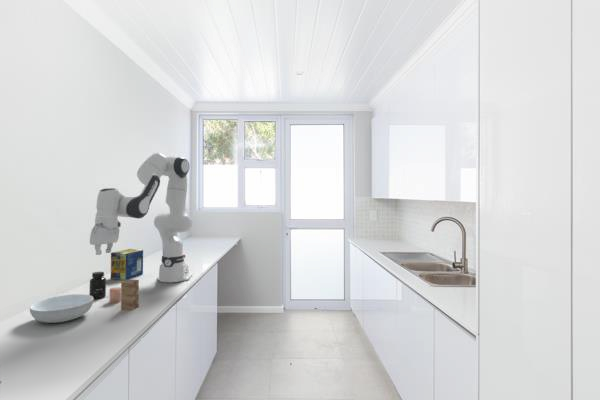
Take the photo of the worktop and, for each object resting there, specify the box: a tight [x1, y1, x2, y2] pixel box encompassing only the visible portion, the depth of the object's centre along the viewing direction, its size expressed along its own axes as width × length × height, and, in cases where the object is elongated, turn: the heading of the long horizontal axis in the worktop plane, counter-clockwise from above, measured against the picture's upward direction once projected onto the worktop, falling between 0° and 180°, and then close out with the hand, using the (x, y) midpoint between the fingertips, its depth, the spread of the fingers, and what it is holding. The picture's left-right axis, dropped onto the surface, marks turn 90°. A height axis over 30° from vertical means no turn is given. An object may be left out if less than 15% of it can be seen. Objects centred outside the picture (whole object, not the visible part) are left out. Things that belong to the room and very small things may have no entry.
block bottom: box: [120, 297, 140, 311], centre depth 150 cm, size 5×5×4 cm
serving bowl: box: [29, 293, 95, 324], centre depth 136 cm, size 21×21×7 cm
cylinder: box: [109, 286, 121, 304], centre depth 159 cm, size 5×5×6 cm
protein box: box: [110, 248, 144, 281], centre depth 206 cm, size 10×15×16 cm
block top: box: [120, 279, 140, 292], centre depth 150 cm, size 5×5×4 cm
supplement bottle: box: [88, 271, 107, 300], centre depth 165 cm, size 7×7×12 cm
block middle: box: [120, 289, 140, 302], centre depth 150 cm, size 5×5×4 cm
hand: (103, 253), depth 155 cm, fingers open, 8 cm apart
